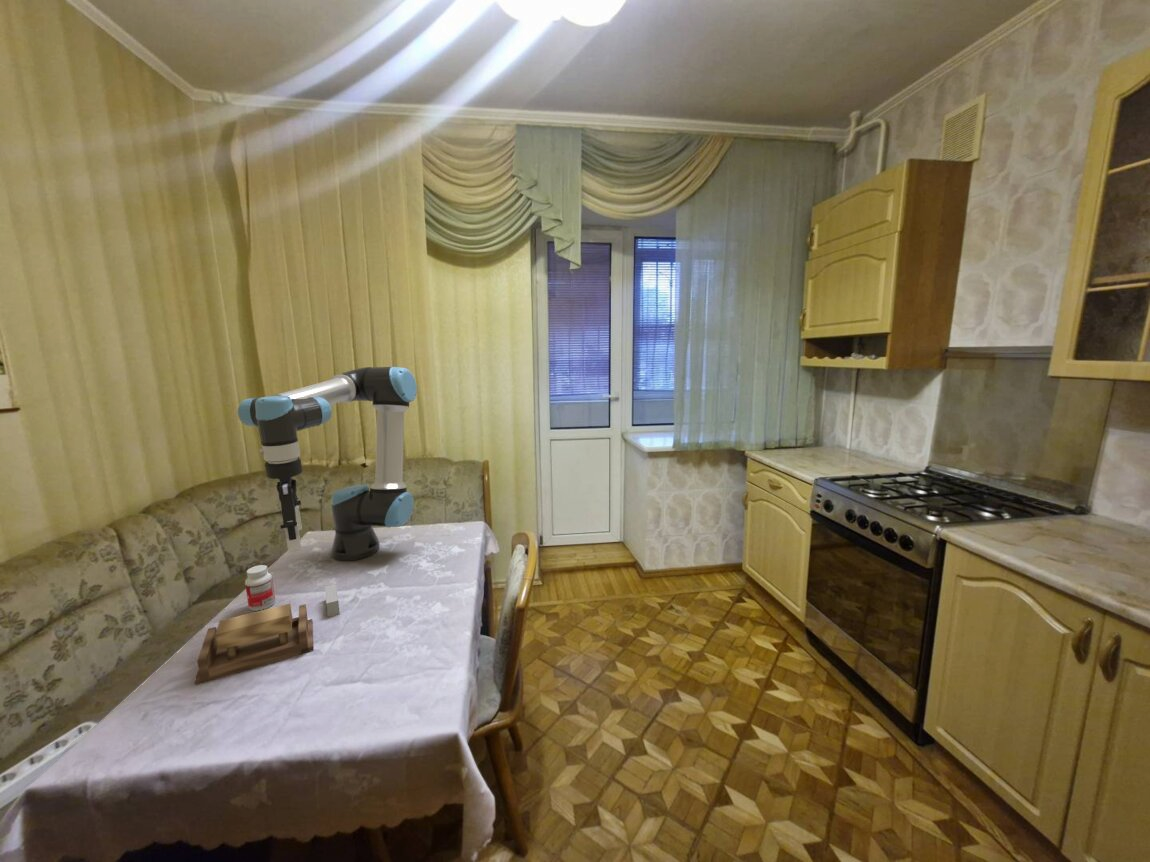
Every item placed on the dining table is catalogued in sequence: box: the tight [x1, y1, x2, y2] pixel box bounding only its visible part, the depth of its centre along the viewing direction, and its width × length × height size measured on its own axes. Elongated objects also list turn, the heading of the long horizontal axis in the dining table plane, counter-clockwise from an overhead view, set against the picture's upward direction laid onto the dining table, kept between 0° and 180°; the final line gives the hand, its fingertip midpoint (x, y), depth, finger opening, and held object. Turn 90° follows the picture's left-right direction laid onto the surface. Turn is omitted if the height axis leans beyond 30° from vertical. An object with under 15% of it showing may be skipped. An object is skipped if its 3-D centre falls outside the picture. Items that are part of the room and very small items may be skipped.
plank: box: [215, 603, 293, 651], centre depth 107 cm, size 14×6×4 cm, turn 120°
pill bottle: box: [244, 564, 276, 612], centre depth 127 cm, size 6×6×11 cm
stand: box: [324, 583, 341, 618], centre depth 126 cm, size 10×3×4 cm, turn 30°
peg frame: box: [194, 604, 314, 686], centre depth 108 cm, size 13×22×6 cm, turn 120°
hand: (295, 540), depth 116 cm, fingers open, 13 cm apart
